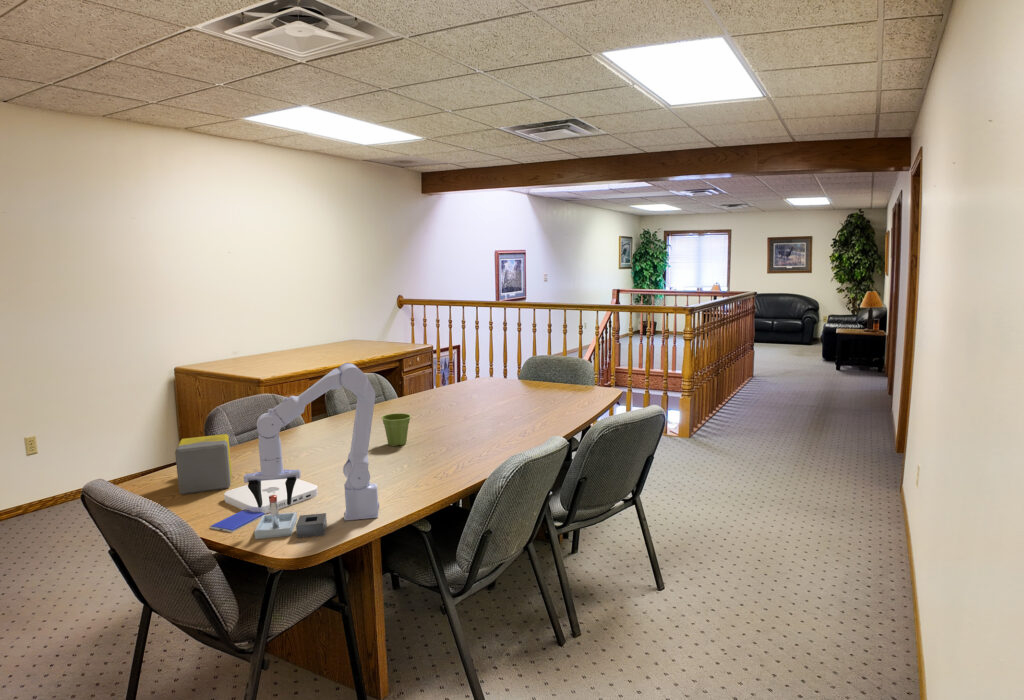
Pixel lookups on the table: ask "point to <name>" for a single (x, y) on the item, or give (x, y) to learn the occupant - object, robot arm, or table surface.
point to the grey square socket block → (311, 525)
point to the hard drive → (237, 520)
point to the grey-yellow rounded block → (203, 464)
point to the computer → (247, 501)
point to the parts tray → (285, 529)
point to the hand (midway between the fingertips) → (274, 504)
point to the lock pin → (274, 511)
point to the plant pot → (396, 428)
